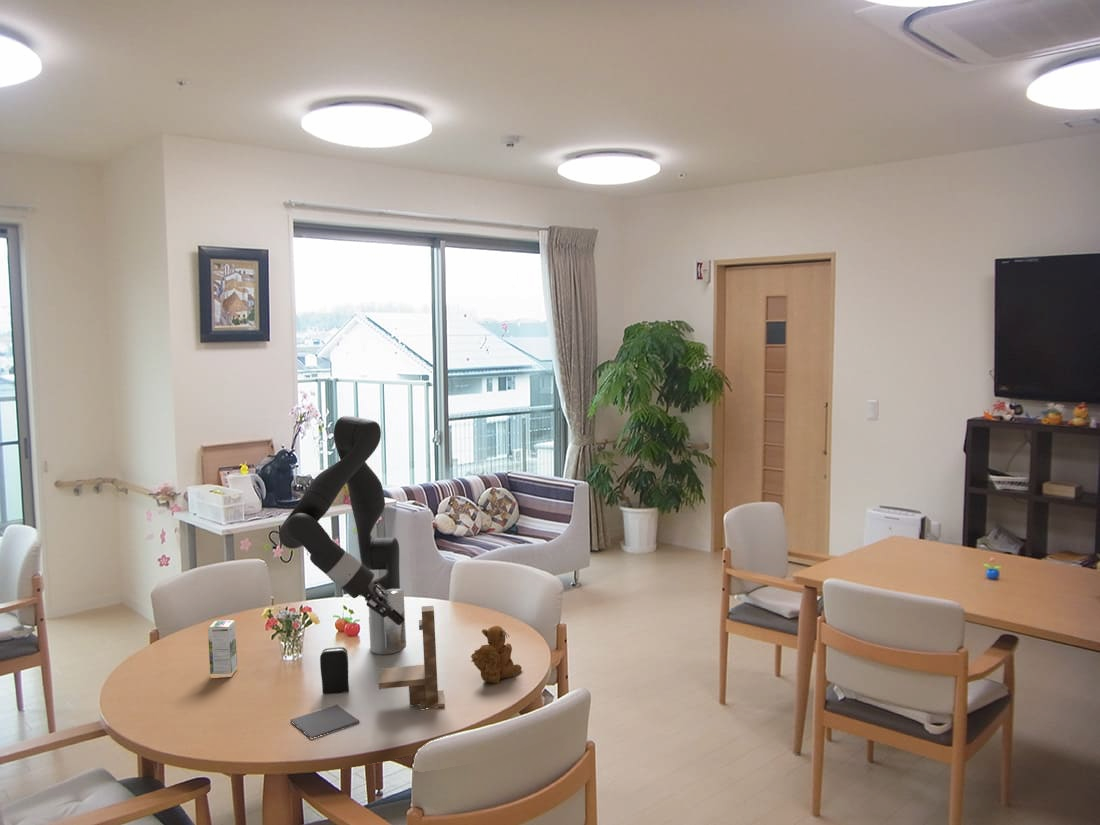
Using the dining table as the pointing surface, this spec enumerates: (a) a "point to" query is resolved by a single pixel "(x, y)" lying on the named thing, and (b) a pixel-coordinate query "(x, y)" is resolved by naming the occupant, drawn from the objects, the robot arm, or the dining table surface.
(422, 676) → the walnut standard
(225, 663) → the syrup box
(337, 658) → the battery charger
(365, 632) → the dining table surface
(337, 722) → the felt pad
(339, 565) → the robot arm
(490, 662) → the stuffed squirrel
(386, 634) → the steel cylinder
